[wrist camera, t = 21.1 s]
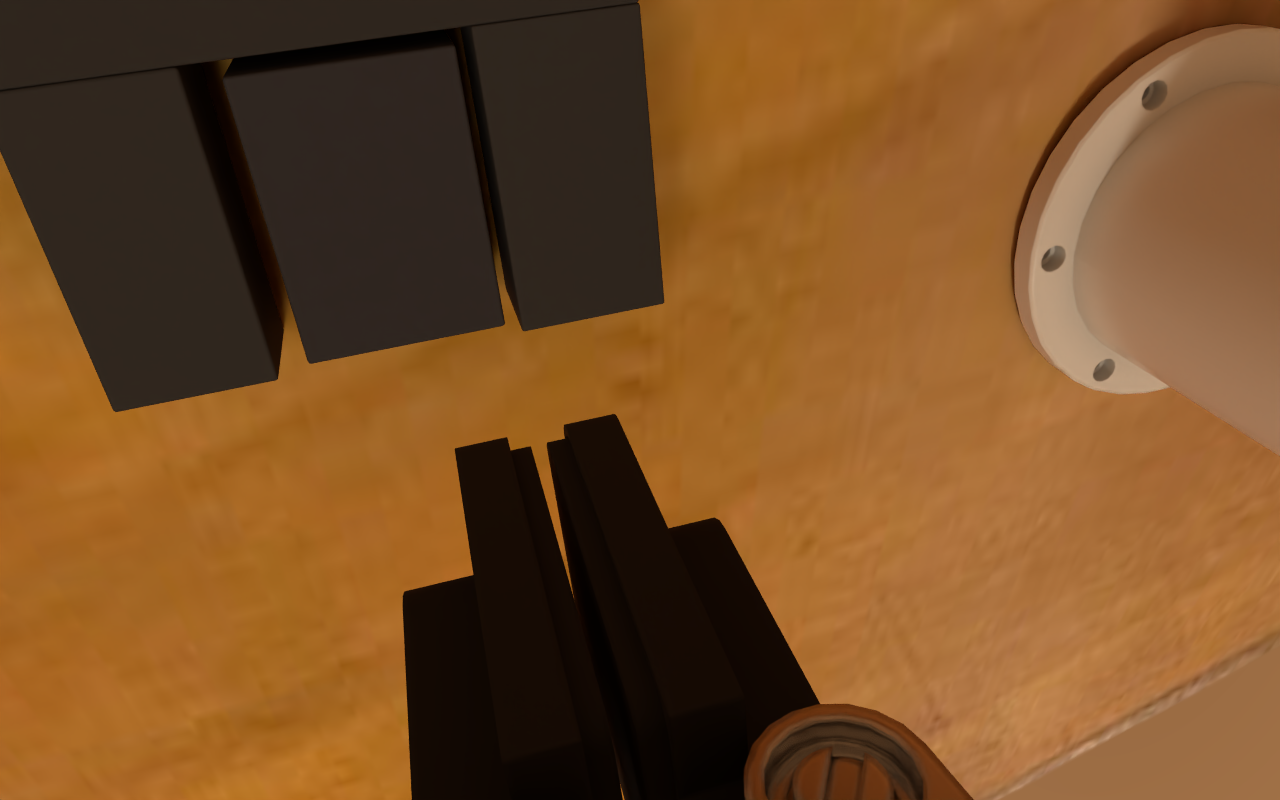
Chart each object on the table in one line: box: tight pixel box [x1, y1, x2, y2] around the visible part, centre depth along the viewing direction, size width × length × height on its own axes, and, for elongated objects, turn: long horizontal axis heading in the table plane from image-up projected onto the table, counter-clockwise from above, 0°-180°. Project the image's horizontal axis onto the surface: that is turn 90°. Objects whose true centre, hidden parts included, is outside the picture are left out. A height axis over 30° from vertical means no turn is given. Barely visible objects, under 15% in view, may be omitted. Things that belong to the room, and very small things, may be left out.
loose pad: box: [223, 29, 505, 364], centre depth 24 cm, size 5×7×3 cm
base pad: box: [0, 0, 664, 412], centre depth 23 cm, size 14×12×3 cm
